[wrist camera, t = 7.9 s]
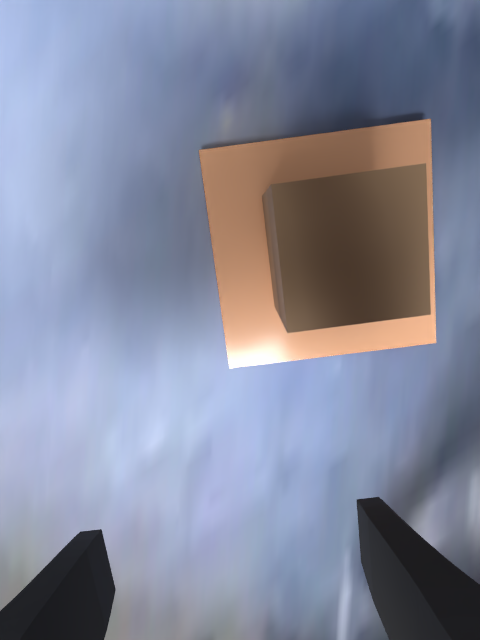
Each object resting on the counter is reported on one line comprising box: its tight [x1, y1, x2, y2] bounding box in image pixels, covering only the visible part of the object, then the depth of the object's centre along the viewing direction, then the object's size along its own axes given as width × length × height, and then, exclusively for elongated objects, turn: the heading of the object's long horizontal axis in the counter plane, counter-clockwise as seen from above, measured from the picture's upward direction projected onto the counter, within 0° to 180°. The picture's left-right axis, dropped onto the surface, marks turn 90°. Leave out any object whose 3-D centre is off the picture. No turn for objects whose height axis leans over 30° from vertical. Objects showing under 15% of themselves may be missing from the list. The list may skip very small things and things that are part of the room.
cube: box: [262, 163, 431, 333], centre depth 16 cm, size 5×5×5 cm
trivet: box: [199, 119, 436, 368], centre depth 19 cm, size 10×10×1 cm
